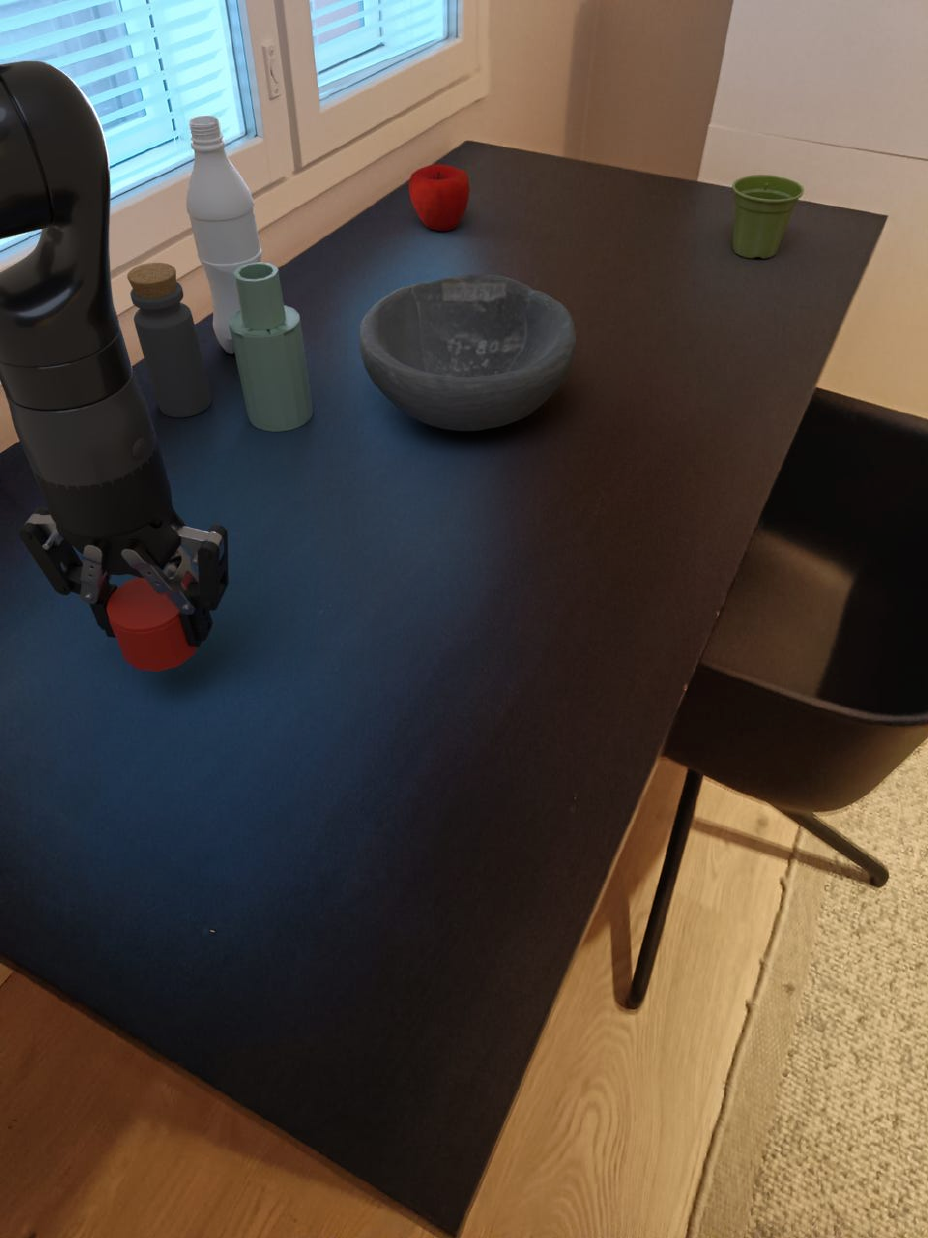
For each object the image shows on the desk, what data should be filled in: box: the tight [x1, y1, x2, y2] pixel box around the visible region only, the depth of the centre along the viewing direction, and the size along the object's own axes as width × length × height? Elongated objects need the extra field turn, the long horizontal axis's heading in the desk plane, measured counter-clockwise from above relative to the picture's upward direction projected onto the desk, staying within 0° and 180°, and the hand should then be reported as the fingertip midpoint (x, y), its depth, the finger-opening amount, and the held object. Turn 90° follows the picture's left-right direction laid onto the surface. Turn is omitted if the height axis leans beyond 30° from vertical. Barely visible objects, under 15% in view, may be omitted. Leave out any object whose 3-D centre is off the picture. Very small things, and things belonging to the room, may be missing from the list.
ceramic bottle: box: [229, 261, 314, 433], centre depth 92 cm, size 7×7×16 cm
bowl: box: [359, 272, 577, 432], centre depth 96 cm, size 23×22×10 cm
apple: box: [408, 164, 470, 232], centre depth 131 cm, size 9×9×8 cm
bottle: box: [126, 262, 213, 418], centre depth 94 cm, size 6×6×15 cm
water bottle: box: [185, 115, 263, 355], centre depth 100 cm, size 7×7×25 cm
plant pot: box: [731, 174, 805, 260], centre depth 124 cm, size 9×9×9 cm
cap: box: [107, 577, 198, 673], centre depth 66 cm, size 6×6×4 cm
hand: (158, 633), depth 67 cm, fingers closed on cap, 5 cm apart
